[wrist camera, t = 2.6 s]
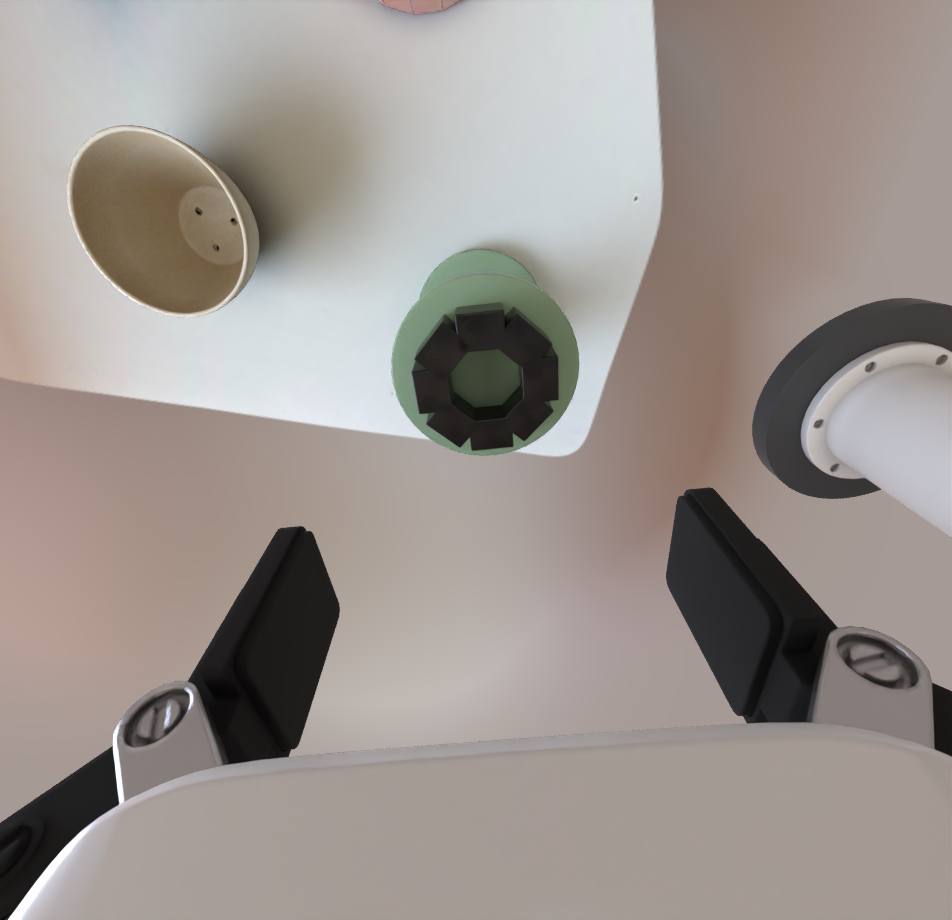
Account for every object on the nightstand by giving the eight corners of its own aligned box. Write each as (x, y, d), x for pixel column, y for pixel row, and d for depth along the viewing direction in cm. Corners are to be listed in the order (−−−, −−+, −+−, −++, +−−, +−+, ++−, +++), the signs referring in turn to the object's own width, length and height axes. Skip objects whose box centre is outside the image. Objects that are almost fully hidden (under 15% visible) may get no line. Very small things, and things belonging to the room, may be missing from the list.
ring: (551, 296, 22) (558, 303, 20) (554, 428, 25) (559, 443, 24) (406, 312, 22) (401, 320, 20) (429, 440, 25) (426, 456, 24)
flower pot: (316, 261, 33) (281, 274, 27) (212, 319, 35) (158, 343, 29) (226, 110, 29) (159, 84, 23) (113, 187, 31) (24, 182, 25)
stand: (540, 241, 33) (580, 262, 21) (543, 370, 38) (578, 447, 26) (407, 256, 33) (372, 286, 21) (428, 382, 38) (409, 463, 26)
